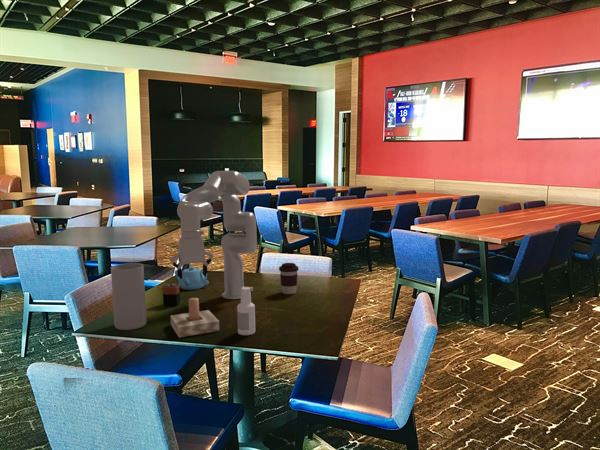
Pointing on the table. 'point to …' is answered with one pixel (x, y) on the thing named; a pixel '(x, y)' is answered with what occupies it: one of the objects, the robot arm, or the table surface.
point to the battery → (171, 295)
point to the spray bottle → (246, 313)
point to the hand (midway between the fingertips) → (192, 276)
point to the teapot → (191, 279)
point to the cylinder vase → (128, 296)
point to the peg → (193, 309)
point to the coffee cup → (288, 277)
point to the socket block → (194, 324)
